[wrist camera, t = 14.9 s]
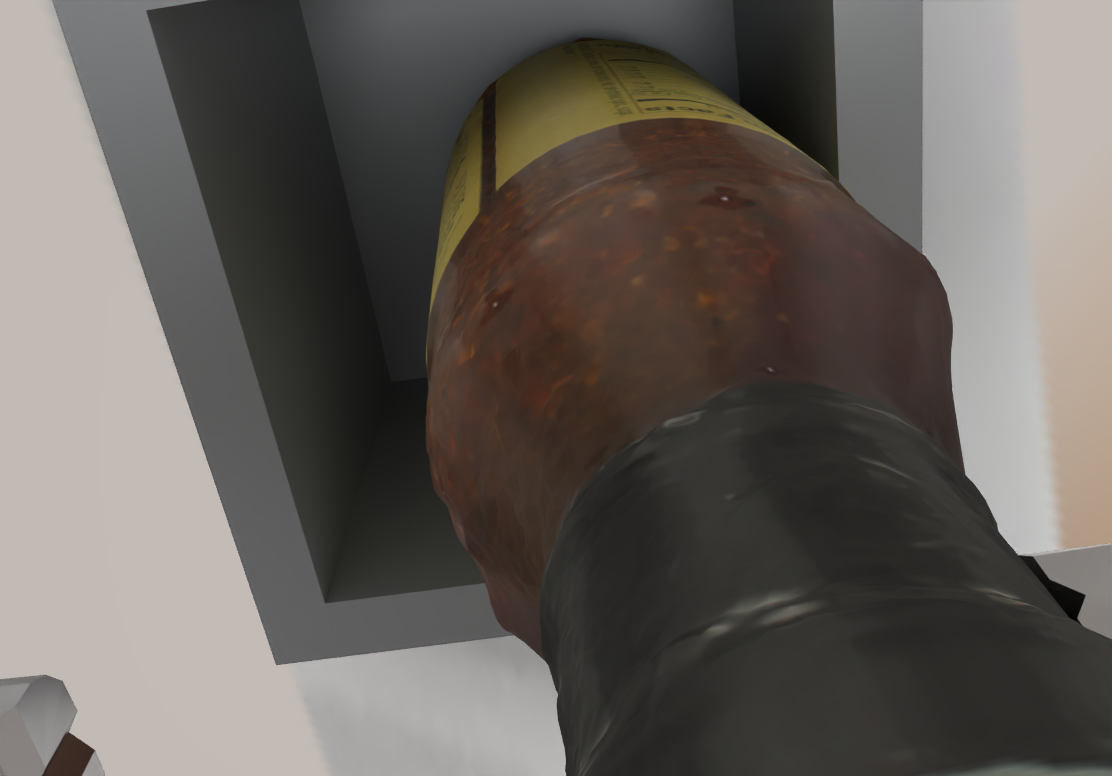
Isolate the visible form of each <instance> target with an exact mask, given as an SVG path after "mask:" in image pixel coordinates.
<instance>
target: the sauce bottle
mask: <svg viewBox="0 0 1112 776" xmlns="http://www.w3.org/2000/svg"><path fill="white" fill-rule="evenodd" d="M952 337H953V323H952V316H951V312H950V307H949V303H948V299H947V294H946V291H945V289H944V287H943V285H942V283H941V281H940V279H939V277H938V274H937V272H936V271H935V269H934V268H933V266H932V265H931V264H930V262H929V261H928V259H927V258H926V257H925V256H924V255H923V254H922V253H920V252H919V251H918V250H916V249H915V248H914V247H913V246H911V245H910V244H909V243H907V242H906V241H905V240H904V239H902V238H901V237H900V236H898V235H897V234H896V233H894V232H893V231H892V230H890V229H889V228H888V227H886V226H885V225H884V224H883V223H881V222H880V221H879V220H877V219H876V218H875V217H874V216H873V215H872V214H871V213H869V212H868V211H867V210H866V209H865V208H864V207H863V206H861V205H860V204H858V203H857V202H856V201H855V200H854V198H853V197H852V196H851V194H850V193H849V192H848V190H847V189H846V188H845V187H844V186H843V185H842V184H841V183H840V182H839V181H838V180H837V179H836V178H834V177H833V176H832V175H831V174H830V173H829V172H828V171H827V170H826V169H825V168H824V167H822V166H821V165H820V164H818V163H817V162H816V161H814V160H813V159H812V158H810V157H809V156H808V155H806V154H805V153H803V152H802V151H801V150H799V149H798V148H797V147H795V146H794V145H793V144H792V143H791V142H789V141H788V140H787V139H785V138H784V137H782V136H781V135H779V134H778V133H776V132H775V131H774V130H772V129H771V128H770V127H768V126H767V125H766V124H764V123H763V122H761V121H760V120H759V119H757V118H756V117H754V116H753V115H752V114H750V113H749V112H748V111H746V110H745V109H744V108H743V107H741V106H740V105H739V104H737V103H736V102H735V101H734V100H732V99H731V98H730V97H729V96H727V95H726V94H724V93H723V92H722V91H720V90H719V89H718V88H717V87H716V86H714V85H713V84H712V83H710V82H709V81H708V80H706V79H705V78H704V77H703V76H701V75H700V74H699V73H697V72H696V71H695V70H693V69H692V68H691V67H689V66H688V65H686V64H685V63H683V62H682V61H680V60H679V59H677V58H676V57H674V56H673V55H671V54H670V53H668V52H666V51H663V50H659V49H656V48H652V47H649V46H646V45H642V44H637V43H633V42H626V41H619V40H605V39H595V38H579V39H576V40H575V41H574V42H573V43H569V44H565V45H561V46H558V47H554V48H551V49H548V50H545V51H543V52H541V53H539V54H537V55H534V56H532V57H530V58H528V59H526V60H524V61H523V62H521V63H519V64H518V65H516V66H515V67H513V68H512V69H510V70H509V71H508V72H506V73H505V74H504V75H502V76H501V77H500V78H499V79H497V80H496V81H494V82H493V83H492V84H490V85H489V86H488V87H487V88H486V90H485V91H484V92H483V94H482V95H481V96H480V98H479V100H478V101H477V103H476V105H475V106H474V108H473V110H472V111H471V112H470V114H469V115H468V117H467V119H466V120H465V122H464V124H463V126H462V128H461V130H460V132H459V134H458V136H457V139H456V142H455V145H454V148H453V151H452V154H451V157H450V160H449V164H448V169H447V174H446V180H445V185H444V197H443V204H442V211H441V220H440V230H439V241H438V248H437V255H436V263H435V270H434V277H433V285H432V294H431V304H430V313H429V322H428V330H427V343H426V364H427V375H428V385H429V390H428V399H427V414H426V450H427V453H428V455H429V457H430V472H431V477H432V482H433V486H434V491H435V492H436V493H437V495H438V496H439V497H440V498H441V499H442V501H443V502H444V503H445V504H446V505H447V507H448V510H449V513H450V517H451V520H452V523H453V526H454V529H455V532H456V534H457V536H458V538H459V540H460V541H461V543H462V544H463V546H464V547H465V548H466V550H467V551H468V552H469V554H470V555H471V556H472V558H473V559H474V561H475V562H476V564H477V566H478V568H479V570H480V572H481V575H482V577H483V580H484V582H485V585H486V587H487V590H488V594H489V599H490V604H491V607H492V609H493V612H494V614H495V617H496V619H497V621H498V623H499V624H500V625H501V627H502V628H503V629H504V630H505V631H508V632H510V633H512V634H513V635H515V636H516V637H518V638H519V639H521V640H522V641H524V642H525V643H526V644H527V645H528V646H529V647H530V648H531V649H533V650H534V651H535V652H536V653H537V654H538V655H539V656H540V657H541V658H542V659H544V660H545V661H546V663H547V664H548V665H549V668H550V672H551V675H552V678H553V682H554V685H555V688H556V691H557V693H558V699H557V713H558V721H559V726H560V730H561V734H562V738H563V743H564V747H565V755H566V768H565V771H566V776H1112V639H1110V638H1108V637H1106V636H1103V635H1101V634H1099V633H1097V632H1094V631H1092V630H1090V629H1088V628H1085V627H1084V626H1082V625H1081V624H1079V623H1077V622H1076V621H1074V620H1073V619H1070V618H1069V617H1068V616H1067V614H1066V613H1065V612H1064V611H1063V609H1062V608H1061V607H1060V606H1059V604H1058V603H1057V602H1056V600H1055V599H1054V598H1053V597H1052V595H1051V594H1050V593H1049V592H1048V590H1047V589H1046V588H1045V586H1044V585H1043V584H1042V583H1041V582H1040V580H1039V579H1038V578H1037V577H1036V576H1035V574H1034V573H1033V572H1032V571H1031V570H1030V569H1029V567H1028V566H1027V565H1026V564H1025V563H1024V561H1023V560H1022V559H1021V558H1020V557H1019V556H1018V554H1017V553H1016V552H1015V551H1014V550H1013V549H1012V547H1011V546H1010V545H1009V544H1008V543H1007V542H1006V540H1005V539H1004V538H1003V537H1002V535H1001V534H1000V533H999V531H998V528H997V523H996V521H995V519H994V517H993V515H992V513H991V511H990V509H989V506H988V504H987V502H986V500H985V499H984V497H983V496H982V494H981V493H980V492H979V490H978V489H977V487H976V486H975V485H974V483H973V482H972V481H971V480H970V479H969V478H968V477H967V476H966V475H965V469H964V463H963V457H962V451H961V445H960V439H959V432H958V426H957V419H956V413H955V406H954V400H953V393H952V380H951V347H952Z"/></svg>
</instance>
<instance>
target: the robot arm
mask: <svg viewBox="0 0 1112 776" xmlns="http://www.w3.org/2000/svg"><path fill="white" fill-rule="evenodd" d="M1019 557H1020V558H1021V559H1022V560H1023V561H1024V563H1025V564H1026V565H1027V566H1028V567H1029V569H1030V570H1031V571H1032V572H1033V573H1034V574H1035V576H1036V577H1037V578H1038V579H1039V580H1040V582H1041V583H1042V584H1043V585H1044V586H1045V588H1046V589H1047V590H1048V592H1049V593H1050V594H1051V595H1052V597H1053V598H1054V599H1055V600H1056V602H1057V603H1058V604H1059V606H1060V607H1061V608H1062V609H1063V611H1064V612H1065V613H1066V614H1067V616H1068V617H1069V618H1070V619H1073V620H1074V621H1076V622H1077V623H1079V624H1081V625H1082V626H1084V627H1085V628H1088V629H1090V630H1092V631H1094V632H1097V633H1099V634H1101V635H1103V636H1106V637H1108V638H1110V639H1112V543H1111V544H1102V545H1094V546H1087V547H1080V548H1071V549H1063V550H1055V551H1047V552H1040V553H1032V554H1024V555H1019ZM76 713H77V709H76V707H75V705H74V703H73V701H72V699H71V697H70V695H69V693H68V691H67V690H66V687H65V685H64V683H63V681H61V680H58V679H56V678H53V677H50V676H47V675H39V676H29V677H20V678H9V679H0V776H105V773H104V770H103V768H102V765H101V763H100V761H99V758H98V756H97V754H96V751H95V750H94V749H92V748H91V747H90V746H88V745H87V744H85V743H84V742H82V741H81V740H79V739H78V738H76V737H75V736H74V735H72V734H71V733H69V731H70V728H71V726H72V723H73V721H74V718H75V715H76Z"/></svg>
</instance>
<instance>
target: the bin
mask: <svg viewBox="0 0 1112 776" xmlns="http://www.w3.org/2000/svg"><path fill="white" fill-rule="evenodd" d="M52 1H53V4H54V7H55V10H56V13H57V16H58V19H59V22H60V25H61V28H62V31H63V34H64V37H65V40H66V43H67V46H68V49H69V52H70V55H71V57H72V60H73V63H74V66H75V69H76V72H77V75H78V78H79V81H80V84H81V87H82V90H83V93H84V96H85V99H86V102H87V105H88V108H89V111H90V114H91V117H92V120H93V123H94V126H95V129H96V132H97V135H98V138H99V141H100V144H101V146H102V149H103V152H104V155H105V158H106V161H107V164H108V167H109V170H110V173H111V176H112V179H113V182H114V185H115V188H116V191H117V194H118V197H119V200H120V203H121V206H122V209H123V212H124V215H125V218H126V221H127V224H128V227H129V230H130V233H131V236H132V238H133V241H134V244H135V247H136V250H137V253H138V256H139V259H140V262H141V265H142V268H143V271H144V274H145V277H146V280H147V283H148V286H149V289H150V292H151V295H152V298H153V301H154V304H155V307H156V310H157V313H158V316H159V319H160V322H161V325H162V327H163V330H164V333H165V336H166V339H167V342H168V345H169V348H170V351H171V354H172V357H173V360H174V363H175V366H176V369H177V372H178V375H179V378H180V381H181V384H182V387H183V390H184V393H185V396H186V399H187V402H188V405H189V408H190V410H191V414H192V417H193V419H194V422H195V425H196V428H197V431H198V434H199V437H200V440H201V443H202V446H203V449H204V452H205V455H206V458H207V461H208V464H209V467H210V470H211V473H212V476H213V479H214V482H215V485H216V488H217V491H218V494H219V497H220V500H221V503H222V506H223V509H224V511H225V514H226V517H227V520H228V523H229V526H230V529H231V532H232V535H233V538H234V541H235V544H236V547H237V550H238V553H239V556H240V559H241V562H242V565H243V568H244V571H245V574H246V577H247V580H248V582H249V586H250V589H251V592H252V595H253V598H254V600H255V603H256V606H257V609H258V612H259V615H260V618H261V621H262V624H263V627H264V630H265V633H266V636H267V639H268V642H269V645H270V648H271V651H272V654H273V657H274V660H275V663H276V665H280V664H288V663H296V662H304V661H312V660H320V659H328V658H336V657H344V656H352V655H360V654H368V653H376V652H384V651H392V650H400V649H408V648H416V647H424V646H432V645H440V644H448V643H456V642H464V641H472V640H479V639H487V638H495V637H503V636H511V635H513V634H512V633H510V632H508V631H505V630H504V629H503V628H502V627H501V625H500V624H499V623H498V621H497V619H496V617H495V614H494V612H493V609H492V607H491V604H490V599H489V594H488V590H487V587H486V585H485V582H484V580H483V577H482V575H481V572H480V570H479V568H478V566H477V564H476V562H475V561H474V559H473V558H472V556H471V555H470V554H469V552H468V551H467V550H466V548H465V547H464V546H463V544H462V543H461V541H460V540H459V538H458V536H457V534H456V532H455V529H454V526H453V523H452V520H451V517H450V513H449V510H448V507H447V505H446V504H445V503H444V502H443V501H442V499H441V498H440V497H439V496H438V495H437V493H436V492H435V491H434V486H433V482H432V477H431V472H430V457H429V455H428V453H427V450H426V414H427V399H428V390H429V385H428V375H427V364H426V343H427V330H428V322H429V313H430V304H431V294H432V285H433V277H434V270H435V263H436V255H437V248H438V241H439V230H440V220H441V211H442V204H443V197H444V185H445V180H446V174H447V169H448V164H449V160H450V157H451V154H452V151H453V148H454V145H455V142H456V139H457V136H458V134H459V132H460V130H461V128H462V126H463V124H464V122H465V120H466V119H467V117H468V115H469V114H470V112H471V111H472V110H473V108H474V106H475V105H476V103H477V101H478V100H479V98H480V96H481V95H482V94H483V92H484V91H485V90H486V88H487V87H488V86H489V85H490V84H492V83H493V82H494V81H496V80H497V79H499V78H500V77H501V76H502V75H504V74H505V73H506V72H508V71H509V70H510V69H512V68H513V67H515V66H516V65H518V64H519V63H521V62H523V61H524V60H526V59H528V58H530V57H532V56H534V55H537V54H539V53H541V52H543V51H545V50H548V49H551V48H554V47H558V46H561V45H565V44H569V43H573V42H574V41H575V40H576V39H579V38H595V39H605V40H619V41H626V42H633V43H637V44H642V45H646V46H649V47H652V48H656V49H659V50H663V51H666V52H668V53H670V54H671V55H673V56H674V57H676V58H677V59H679V60H680V61H682V62H683V63H685V64H686V65H688V66H689V67H691V68H692V69H693V70H695V71H696V72H697V73H699V74H700V75H701V76H703V77H704V78H705V79H706V80H708V81H709V82H710V83H712V84H713V85H714V86H716V87H717V88H718V89H719V90H720V91H722V92H723V93H724V94H726V95H727V96H729V97H730V98H731V99H732V100H734V101H735V102H736V103H737V104H739V105H740V106H741V107H743V108H744V109H745V110H746V111H748V112H749V113H750V114H752V115H753V116H754V117H756V118H757V119H759V120H760V121H761V122H763V123H764V124H766V125H767V126H768V127H770V128H771V129H772V130H774V131H775V132H776V133H778V134H779V135H781V136H782V137H784V138H785V139H787V140H788V141H789V142H791V143H792V144H793V145H794V146H795V147H797V148H798V149H799V150H801V151H802V152H803V153H805V154H806V155H808V156H809V157H810V158H812V159H813V160H814V161H816V162H817V163H818V164H820V165H821V166H822V167H824V168H825V169H826V170H827V171H828V172H829V173H830V174H831V175H832V176H833V177H834V178H836V179H837V180H838V181H839V182H840V183H841V184H842V185H843V186H844V187H845V188H846V189H847V190H848V192H849V193H850V194H851V196H852V197H853V198H854V200H855V201H856V202H857V203H858V204H860V205H861V206H863V207H864V208H865V209H866V210H867V211H868V212H869V213H871V214H872V215H873V216H874V217H875V218H876V219H877V220H879V221H880V222H881V223H883V224H884V225H885V226H886V227H888V228H889V229H890V230H892V231H893V232H894V233H896V234H897V235H898V236H900V237H901V238H902V239H904V240H905V241H906V242H907V243H909V244H910V245H911V246H913V247H914V248H915V249H916V250H918V251H919V252H920V253H922V17H923V0H52Z"/></svg>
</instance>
